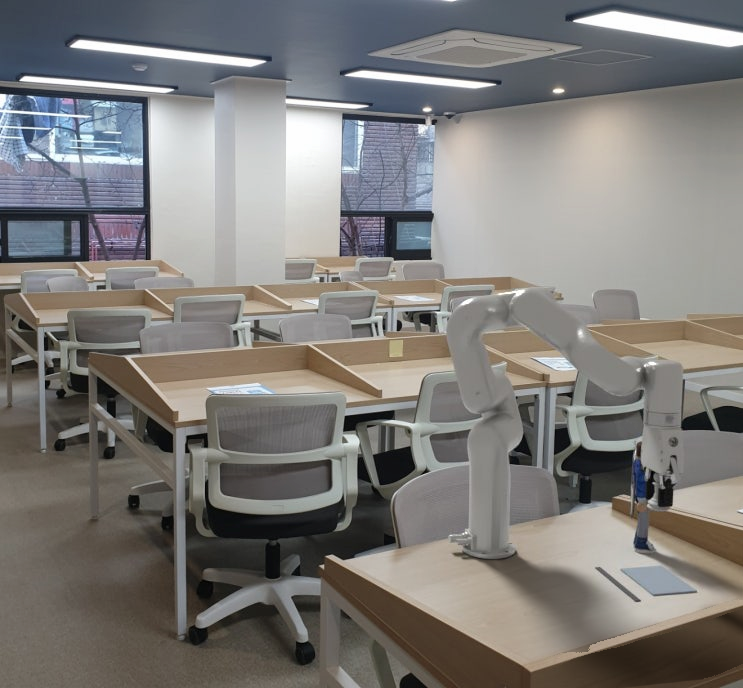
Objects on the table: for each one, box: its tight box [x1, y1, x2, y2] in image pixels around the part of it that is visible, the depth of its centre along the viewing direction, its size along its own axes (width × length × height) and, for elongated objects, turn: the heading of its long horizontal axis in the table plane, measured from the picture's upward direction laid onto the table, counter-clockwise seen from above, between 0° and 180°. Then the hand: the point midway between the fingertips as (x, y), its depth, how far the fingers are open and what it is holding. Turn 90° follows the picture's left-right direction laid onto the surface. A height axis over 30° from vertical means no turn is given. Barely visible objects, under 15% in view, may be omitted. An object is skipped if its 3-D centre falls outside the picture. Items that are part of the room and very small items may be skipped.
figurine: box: [630, 437, 656, 554], centre depth 201 cm, size 10×6×30 cm, turn 168°
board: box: [594, 565, 698, 602], centre depth 184 cm, size 15×18×1 cm
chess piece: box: [647, 473, 671, 512], centre depth 182 cm, size 5×5×8 cm
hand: (658, 501), depth 182 cm, fingers closed on chess piece, 4 cm apart
